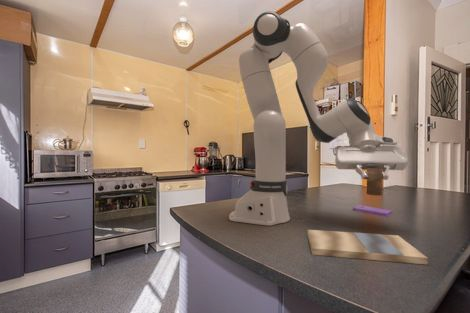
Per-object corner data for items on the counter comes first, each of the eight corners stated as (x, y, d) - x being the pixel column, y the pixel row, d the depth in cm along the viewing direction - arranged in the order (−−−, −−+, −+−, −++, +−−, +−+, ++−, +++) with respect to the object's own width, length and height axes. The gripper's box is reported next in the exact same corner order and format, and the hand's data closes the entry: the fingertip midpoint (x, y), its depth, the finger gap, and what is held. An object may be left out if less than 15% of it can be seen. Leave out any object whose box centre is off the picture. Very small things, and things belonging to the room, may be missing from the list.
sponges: (359, 209, 103) (359, 204, 103) (392, 214, 94) (392, 209, 94) (352, 211, 99) (352, 207, 99) (386, 217, 89) (386, 212, 89)
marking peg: (369, 195, 69) (369, 164, 69) (364, 192, 73) (365, 164, 73) (384, 195, 68) (384, 164, 68) (379, 193, 72) (379, 164, 72)
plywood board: (312, 254, 56) (312, 247, 56) (307, 234, 70) (307, 229, 70) (427, 264, 51) (427, 257, 51) (398, 240, 65) (398, 235, 65)
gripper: (333, 139, 79) (339, 170, 70) (401, 138, 75) (418, 172, 65) (330, 152, 84) (336, 183, 74) (395, 152, 79) (409, 185, 70)
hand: (375, 178), depth 70 cm, fingers closed on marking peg, 4 cm apart
